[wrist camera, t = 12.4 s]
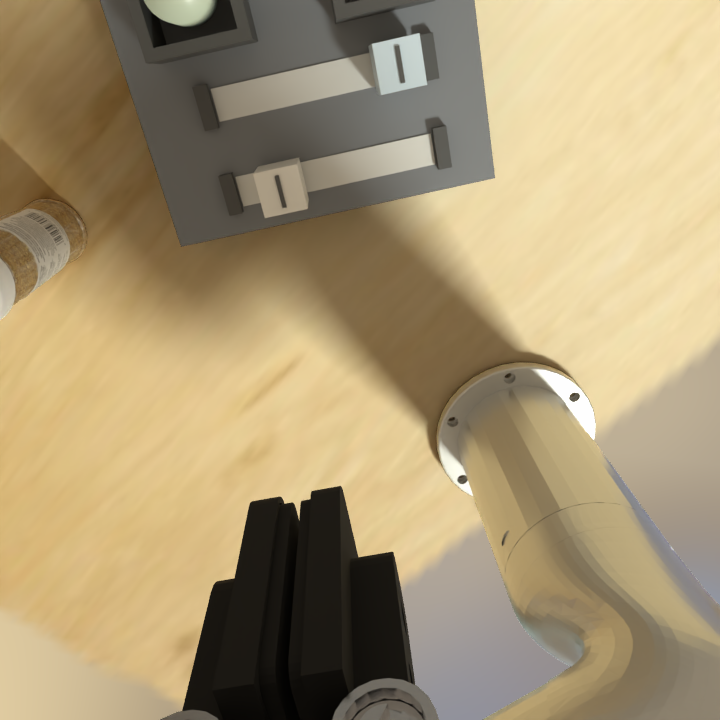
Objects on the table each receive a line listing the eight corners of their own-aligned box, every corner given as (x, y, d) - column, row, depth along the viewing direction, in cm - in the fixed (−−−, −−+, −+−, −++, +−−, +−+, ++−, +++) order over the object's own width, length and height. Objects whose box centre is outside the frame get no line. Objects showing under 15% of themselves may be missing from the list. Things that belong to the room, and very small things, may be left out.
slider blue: (419, 83, 37) (427, 84, 34) (376, 93, 37) (381, 95, 34) (412, 35, 36) (419, 33, 33) (368, 45, 36) (372, 43, 33)
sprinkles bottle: (6, 214, 43) (-121, 272, 31) (64, 186, 42) (-41, 233, 30) (47, 274, 45) (-57, 351, 33) (103, 248, 44) (19, 316, 32)
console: (480, 168, 43) (509, 187, 37) (193, 232, 44) (169, 261, 37) (445, -115, 37) (473, -157, 30) (108, -35, 38) (60, -58, 31)
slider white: (308, 199, 39) (307, 209, 36) (268, 207, 39) (264, 218, 36) (298, 157, 38) (297, 164, 35) (257, 166, 38) (252, 174, 35)
